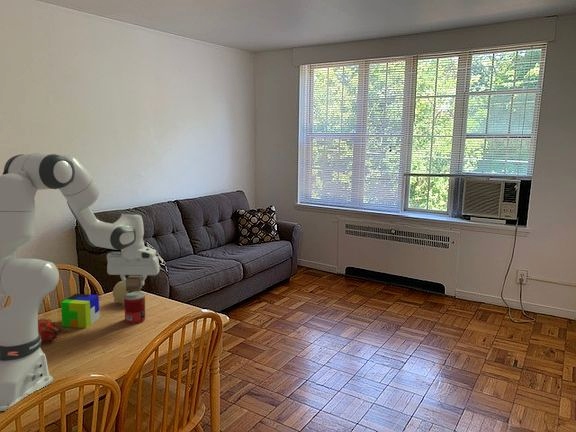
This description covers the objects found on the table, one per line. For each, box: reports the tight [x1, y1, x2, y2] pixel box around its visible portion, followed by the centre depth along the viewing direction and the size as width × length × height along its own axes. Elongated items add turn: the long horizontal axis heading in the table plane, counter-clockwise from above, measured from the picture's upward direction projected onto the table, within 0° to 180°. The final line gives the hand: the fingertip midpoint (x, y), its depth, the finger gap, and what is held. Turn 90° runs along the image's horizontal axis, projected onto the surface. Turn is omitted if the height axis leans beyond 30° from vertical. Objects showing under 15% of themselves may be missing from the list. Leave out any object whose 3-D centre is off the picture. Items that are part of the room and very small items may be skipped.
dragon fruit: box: [38, 317, 62, 344], centre depth 161 cm, size 8×8×12 cm
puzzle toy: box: [60, 293, 100, 329], centre depth 177 cm, size 10×10×10 cm
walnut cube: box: [126, 275, 143, 291], centre depth 178 cm, size 5×5×5 cm
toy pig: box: [112, 280, 142, 307], centre depth 197 cm, size 10×12×11 cm
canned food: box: [123, 292, 146, 325], centre depth 180 cm, size 8×8×11 cm
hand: (134, 284), depth 178 cm, fingers closed on walnut cube, 5 cm apart
